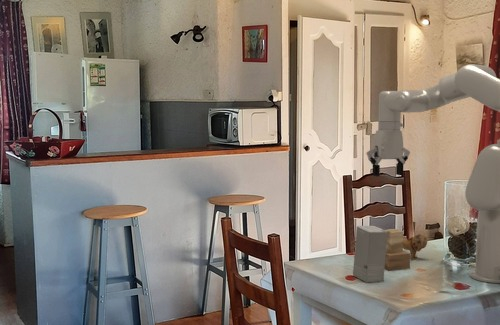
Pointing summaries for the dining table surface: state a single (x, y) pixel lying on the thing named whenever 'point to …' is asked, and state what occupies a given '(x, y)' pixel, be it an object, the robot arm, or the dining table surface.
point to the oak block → (394, 241)
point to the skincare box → (370, 253)
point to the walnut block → (397, 261)
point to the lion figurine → (415, 244)
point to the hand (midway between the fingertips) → (387, 175)
